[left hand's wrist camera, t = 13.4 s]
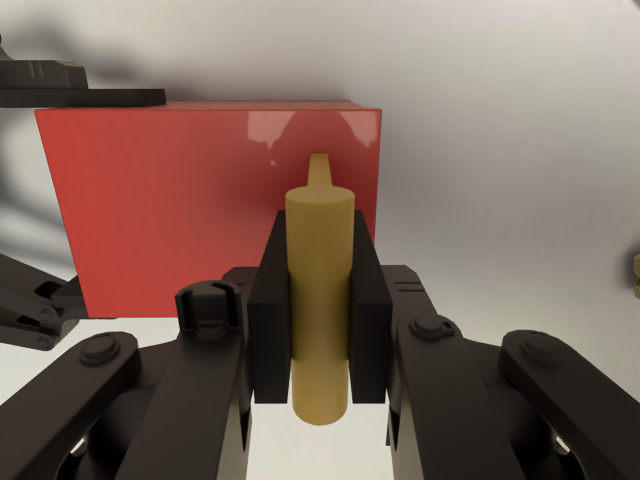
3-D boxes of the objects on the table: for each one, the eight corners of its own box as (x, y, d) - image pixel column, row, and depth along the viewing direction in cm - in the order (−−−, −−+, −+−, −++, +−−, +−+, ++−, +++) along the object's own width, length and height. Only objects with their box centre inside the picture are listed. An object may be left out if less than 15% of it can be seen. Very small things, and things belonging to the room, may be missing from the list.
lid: (378, 107, 15) (442, 129, 8) (367, 306, 19) (403, 464, 11) (48, 108, 15) (-238, 130, 7) (99, 307, 19) (-60, 466, 11)
